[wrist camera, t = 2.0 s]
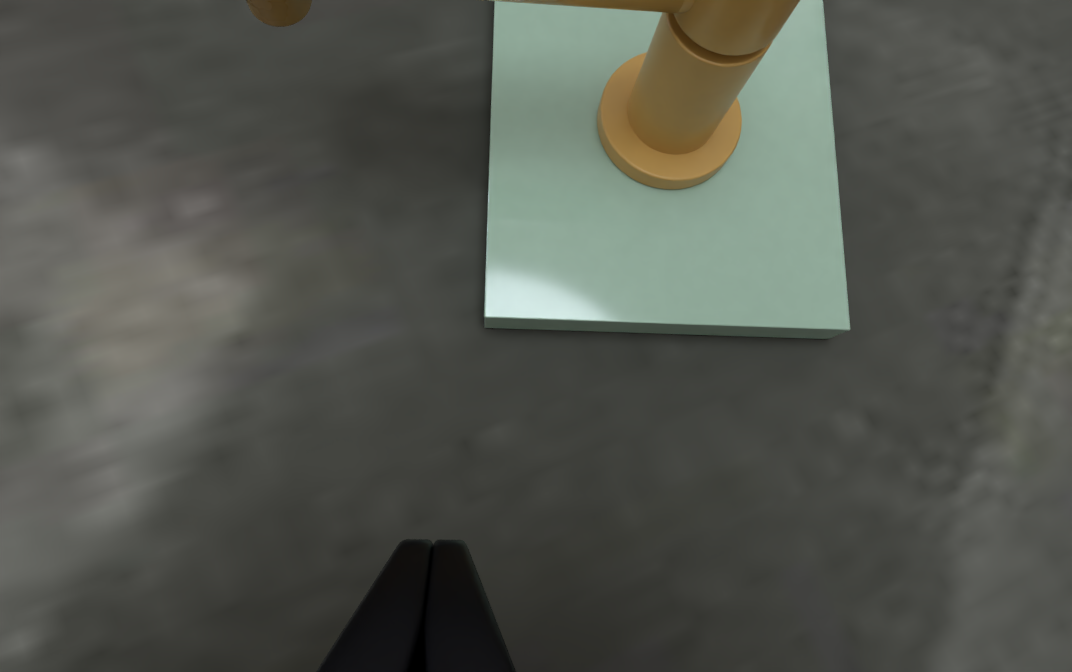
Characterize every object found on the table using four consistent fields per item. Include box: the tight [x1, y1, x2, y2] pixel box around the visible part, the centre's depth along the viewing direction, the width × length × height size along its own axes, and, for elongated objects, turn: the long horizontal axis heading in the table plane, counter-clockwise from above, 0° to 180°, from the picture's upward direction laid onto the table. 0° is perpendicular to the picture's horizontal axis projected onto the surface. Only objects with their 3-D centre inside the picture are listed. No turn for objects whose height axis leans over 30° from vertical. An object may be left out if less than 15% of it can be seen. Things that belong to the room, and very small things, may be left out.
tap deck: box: [484, 0, 850, 339], centre depth 24 cm, size 14×12×2 cm
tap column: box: [597, 12, 773, 190], centre depth 21 cm, size 5×5×6 cm
